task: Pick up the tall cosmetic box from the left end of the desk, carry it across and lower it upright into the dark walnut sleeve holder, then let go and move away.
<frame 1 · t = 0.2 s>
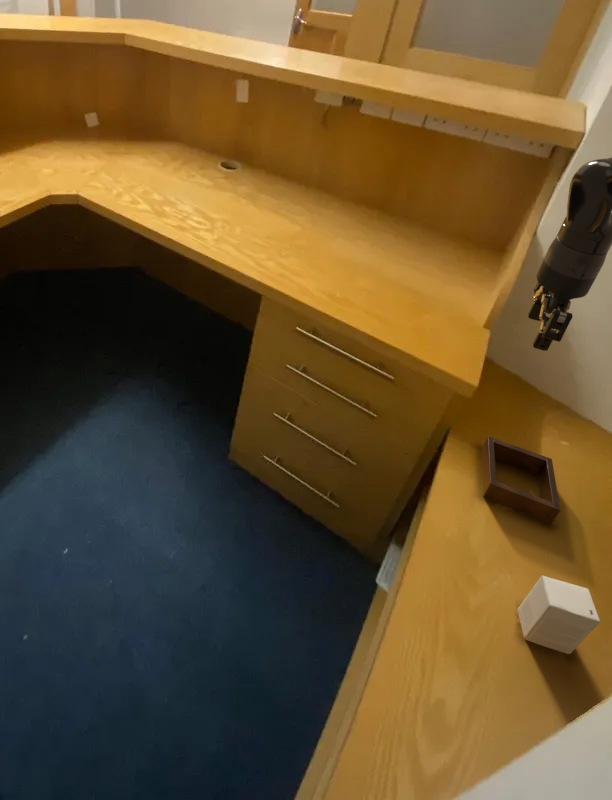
hand: (536, 332, 95), 27 cm above the table, tool pointing down, fingers open, 8 cm apart
holder: (511, 488, 96), on the table
cosmetic box: (538, 634, 77), on the table
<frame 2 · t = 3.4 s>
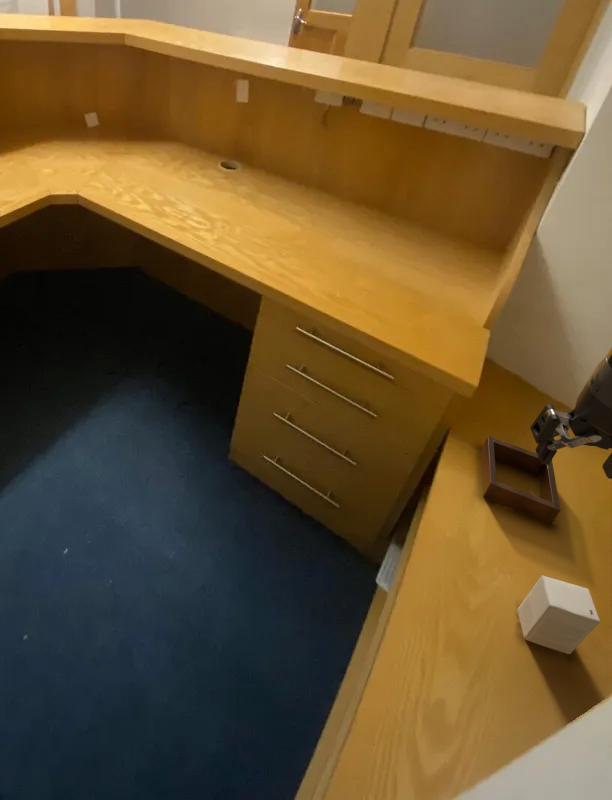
hand: (574, 466, 76), 24 cm above the table, tool pointing down, fingers open, 8 cm apart
nothing on the table moved.
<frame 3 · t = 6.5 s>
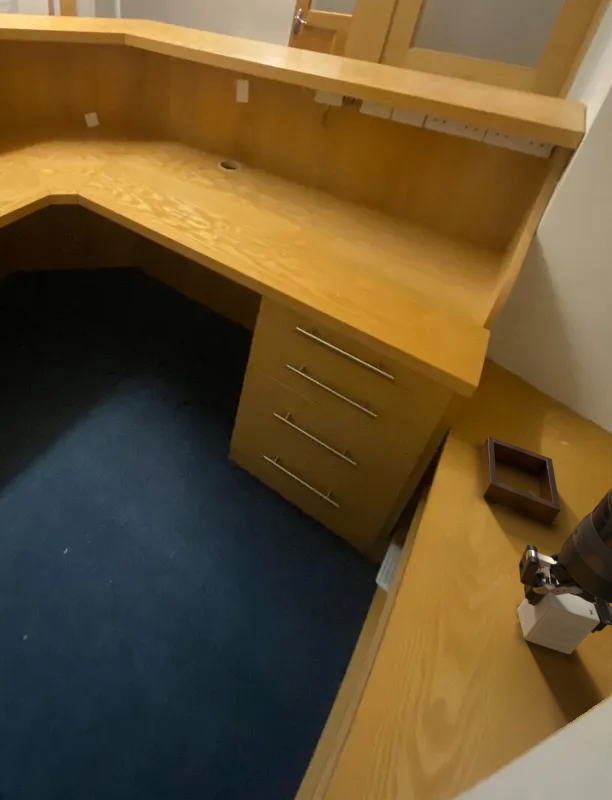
hand: (558, 611, 73), 8 cm above the table, tool pointing down, fingers closed on cosmetic box, 6 cm apart
cosmetic box: (538, 634, 77), on the table, touching gripper
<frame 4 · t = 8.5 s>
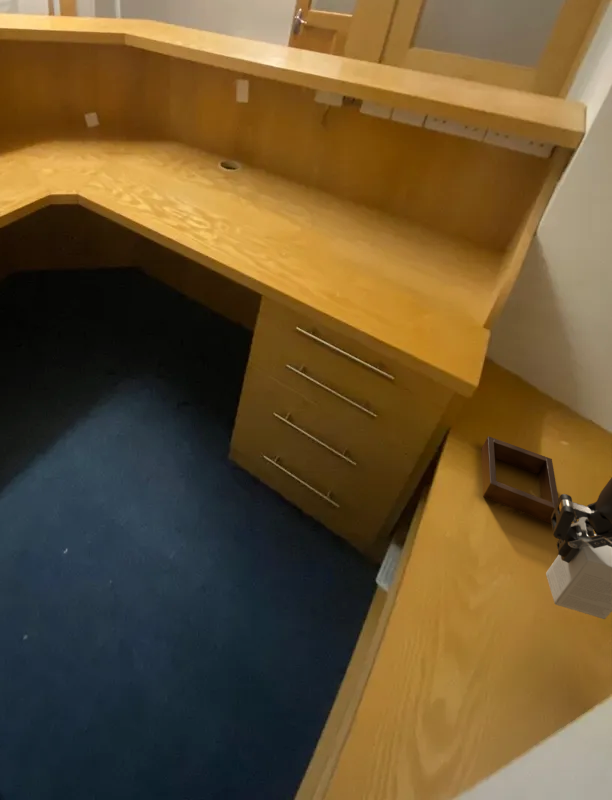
hand: (595, 567, 67), 20 cm above the table, tool pointing down, fingers closed on cosmetic box, 6 cm apart
cosmetic box: (572, 595, 71), point 12 cm above the table, touching gripper
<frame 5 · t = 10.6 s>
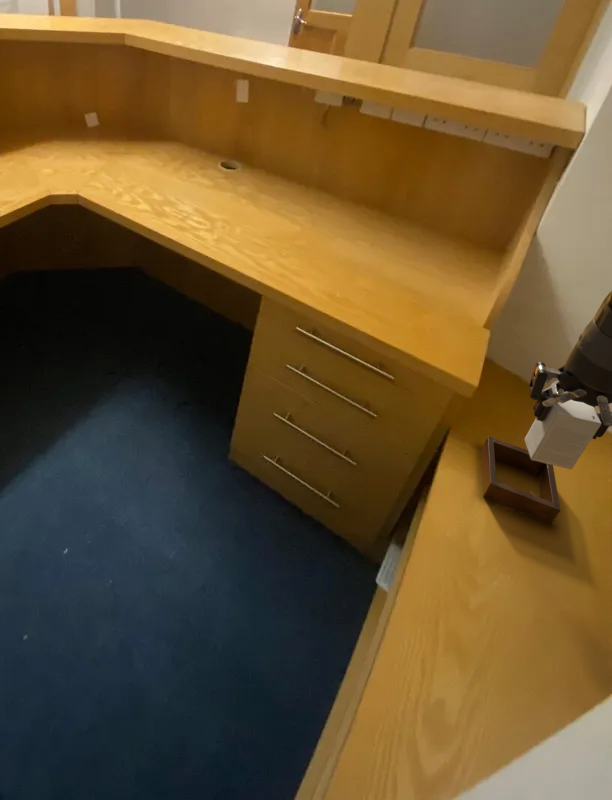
hand: (564, 425, 82), 23 cm above the table, tool pointing down, fingers closed on cosmetic box, 6 cm apart
cosmetic box: (545, 454, 86), point 15 cm above the table, touching gripper
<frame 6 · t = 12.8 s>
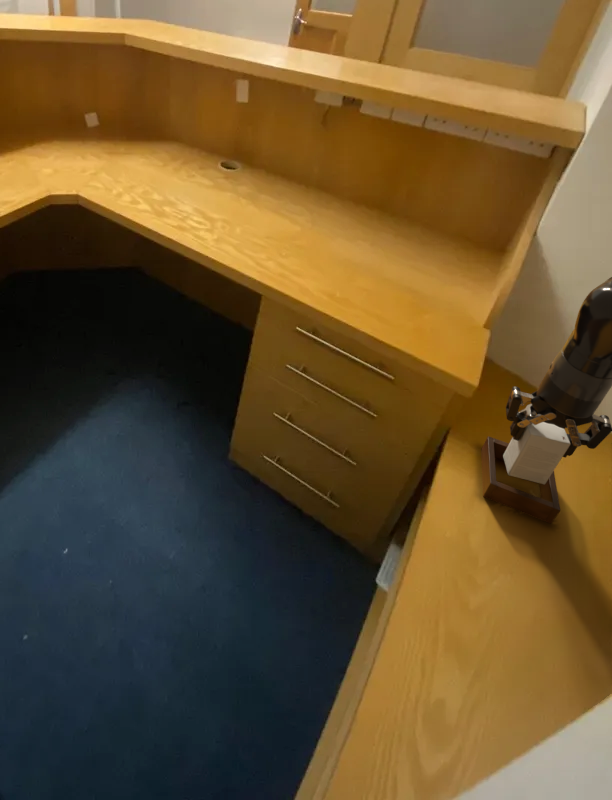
hand: (538, 444, 89), 14 cm above the table, tool pointing down, fingers closed on cosmetic box, 6 cm apart
cosmetic box: (522, 470, 93), point 6 cm above the table, touching gripper
when the fingers open (8 cm above the table, at t = 14.7 s): cosmetic box stays where it is, resting on holder.
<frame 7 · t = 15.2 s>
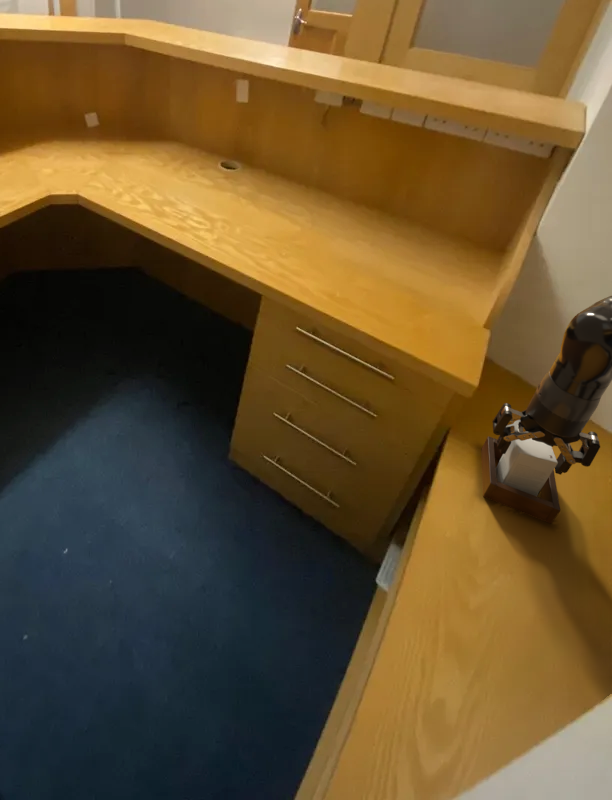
hand: (529, 459, 92), 9 cm above the table, tool pointing down, fingers open, 8 cm apart
cosmetic box: (511, 486, 96), resting on holder
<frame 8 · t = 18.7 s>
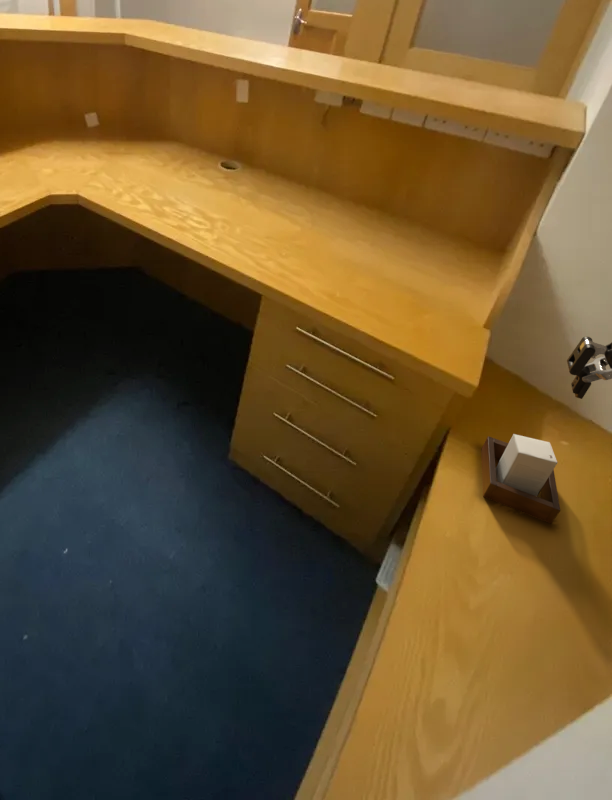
hand: (611, 404, 77), 30 cm above the table, tool pointing down, fingers open, 8 cm apart
nothing on the table moved.
at the end: cosmetic box 0.1 cm off-centre on the holder, point 0.4 cm above the holder's base; cosmetic box tilted 0°; the gripper is holding nothing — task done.
